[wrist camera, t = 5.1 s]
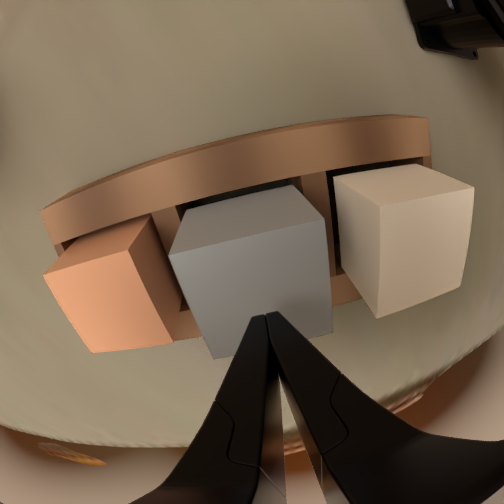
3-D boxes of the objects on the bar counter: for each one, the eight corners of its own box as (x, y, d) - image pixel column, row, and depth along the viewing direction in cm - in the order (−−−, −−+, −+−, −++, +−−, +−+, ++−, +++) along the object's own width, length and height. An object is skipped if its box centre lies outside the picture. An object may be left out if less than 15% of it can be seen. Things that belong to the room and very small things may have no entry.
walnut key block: (393, 114, 14) (427, 117, 11) (399, 252, 19) (424, 277, 15) (68, 192, 14) (39, 211, 11) (126, 316, 19) (113, 349, 16)
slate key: (292, 184, 12) (324, 218, 8) (306, 275, 15) (332, 332, 11) (186, 210, 12) (168, 255, 9) (215, 296, 15) (213, 359, 11)
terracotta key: (154, 211, 14) (127, 249, 10) (183, 288, 16) (173, 342, 12) (81, 235, 14) (42, 275, 10) (114, 303, 16) (92, 353, 12)
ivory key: (416, 163, 12) (474, 187, 8) (414, 245, 15) (459, 286, 11) (332, 176, 12) (379, 206, 8) (341, 266, 15) (376, 318, 11)
